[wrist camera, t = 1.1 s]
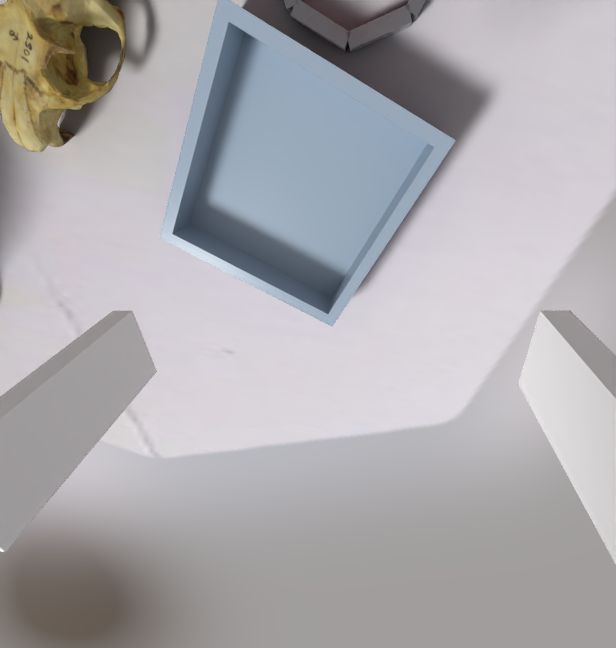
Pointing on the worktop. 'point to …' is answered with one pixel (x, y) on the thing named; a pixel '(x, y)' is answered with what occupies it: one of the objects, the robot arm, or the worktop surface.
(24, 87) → the animal skull
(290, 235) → the bin
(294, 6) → the ring
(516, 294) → the worktop surface
